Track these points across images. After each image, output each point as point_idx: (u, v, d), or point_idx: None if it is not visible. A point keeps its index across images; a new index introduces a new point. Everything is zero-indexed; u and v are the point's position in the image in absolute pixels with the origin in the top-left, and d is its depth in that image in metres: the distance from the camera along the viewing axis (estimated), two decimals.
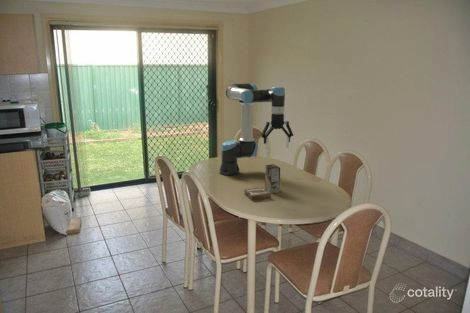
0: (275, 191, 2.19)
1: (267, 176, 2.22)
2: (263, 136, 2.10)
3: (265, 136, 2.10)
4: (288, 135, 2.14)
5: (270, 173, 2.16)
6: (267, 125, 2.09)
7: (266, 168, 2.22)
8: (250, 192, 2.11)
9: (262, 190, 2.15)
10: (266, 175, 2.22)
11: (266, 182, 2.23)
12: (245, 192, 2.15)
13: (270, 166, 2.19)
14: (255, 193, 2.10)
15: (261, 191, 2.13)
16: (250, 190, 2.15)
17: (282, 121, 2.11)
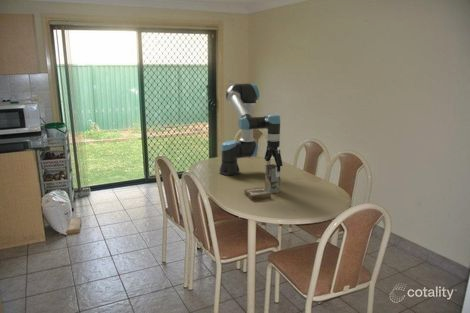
0: (275, 191, 2.19)
1: (267, 176, 2.22)
2: (265, 158, 2.27)
3: (265, 158, 2.26)
4: (276, 164, 2.12)
5: (270, 173, 2.16)
6: None
7: (266, 168, 2.22)
8: (250, 192, 2.11)
9: (262, 190, 2.15)
10: (266, 175, 2.22)
11: (266, 182, 2.23)
12: (245, 192, 2.15)
13: (270, 166, 2.19)
14: (255, 193, 2.10)
15: (261, 191, 2.13)
16: (250, 190, 2.15)
17: (273, 149, 2.14)
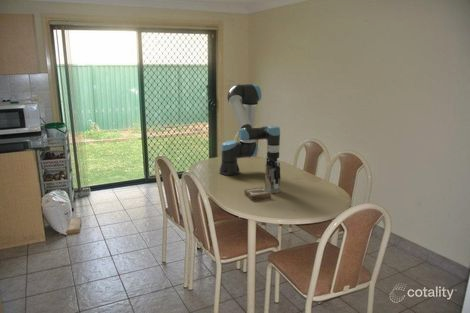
0: (275, 191, 2.19)
1: (267, 176, 2.22)
2: None
3: None
4: (274, 176, 2.16)
5: (270, 173, 2.16)
6: None
7: (266, 168, 2.22)
8: (250, 192, 2.11)
9: (262, 190, 2.15)
10: (266, 175, 2.22)
11: (266, 182, 2.23)
12: (245, 192, 2.15)
13: (270, 166, 2.19)
14: (255, 193, 2.10)
15: (261, 191, 2.13)
16: (250, 190, 2.15)
17: (273, 160, 2.16)
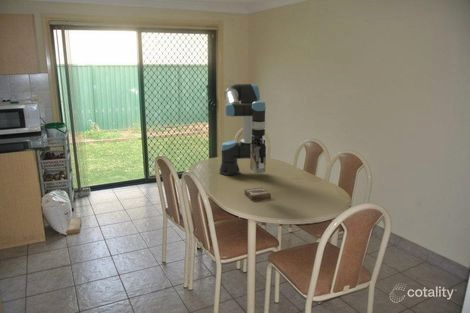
0: (260, 171, 2.06)
1: (252, 155, 2.08)
2: None
3: None
4: None
5: (255, 151, 2.03)
6: (251, 139, 2.11)
7: (251, 147, 2.08)
8: (250, 192, 2.11)
9: (262, 190, 2.15)
10: (251, 154, 2.09)
11: (251, 162, 2.10)
12: (245, 192, 2.15)
13: (255, 144, 2.06)
14: (255, 193, 2.10)
15: (261, 191, 2.13)
16: (250, 190, 2.15)
17: (258, 137, 2.02)
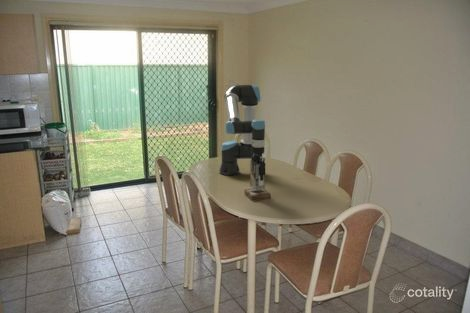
0: (260, 188, 2.08)
1: (251, 172, 2.10)
2: None
3: None
4: (259, 172, 2.05)
5: (255, 169, 2.05)
6: (251, 156, 2.14)
7: (251, 164, 2.10)
8: (250, 192, 2.11)
9: (262, 190, 2.15)
10: (251, 171, 2.11)
11: (251, 179, 2.12)
12: (245, 192, 2.15)
13: (255, 162, 2.08)
14: (255, 193, 2.10)
15: (261, 191, 2.13)
16: (250, 190, 2.15)
17: (258, 155, 2.04)
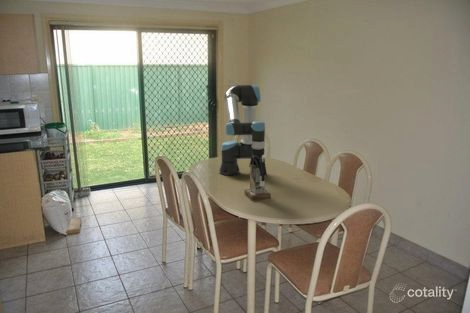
0: (260, 192, 2.09)
1: (251, 176, 2.11)
2: (249, 166, 2.18)
3: None
4: (260, 173, 2.03)
5: (254, 172, 2.06)
6: (251, 156, 2.14)
7: (251, 167, 2.11)
8: (250, 192, 2.11)
9: None
10: (251, 175, 2.12)
11: (251, 182, 2.13)
12: (245, 192, 2.15)
13: (255, 165, 2.09)
14: None
15: None
16: (250, 190, 2.15)
17: (258, 157, 2.05)
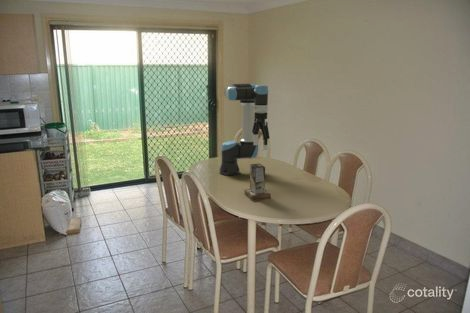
0: (260, 192, 2.09)
1: (251, 176, 2.11)
2: (252, 131, 2.18)
3: (253, 132, 2.16)
4: (263, 137, 2.03)
5: (254, 172, 2.06)
6: (254, 122, 2.14)
7: (251, 167, 2.11)
8: (250, 192, 2.11)
9: None
10: (251, 175, 2.12)
11: (251, 182, 2.13)
12: (245, 192, 2.15)
13: (255, 165, 2.09)
14: None
15: None
16: (250, 190, 2.15)
17: (260, 121, 2.05)
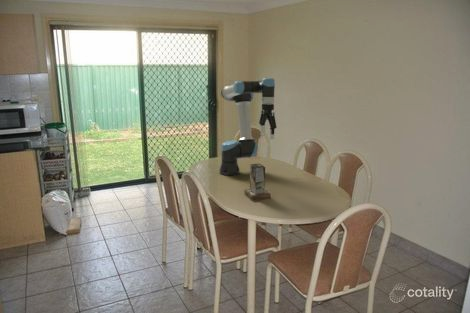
0: (260, 192, 2.09)
1: (251, 176, 2.11)
2: (259, 123, 2.30)
3: (260, 123, 2.29)
4: (270, 127, 2.15)
5: (254, 172, 2.06)
6: (261, 113, 2.26)
7: (251, 167, 2.11)
8: (250, 192, 2.11)
9: None
10: (251, 175, 2.12)
11: (251, 182, 2.13)
12: (245, 192, 2.15)
13: (255, 165, 2.09)
14: None
15: None
16: (250, 190, 2.15)
17: (268, 111, 2.17)
